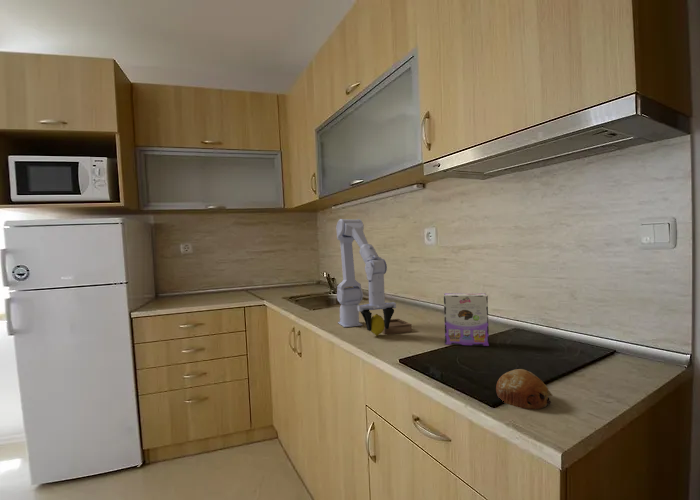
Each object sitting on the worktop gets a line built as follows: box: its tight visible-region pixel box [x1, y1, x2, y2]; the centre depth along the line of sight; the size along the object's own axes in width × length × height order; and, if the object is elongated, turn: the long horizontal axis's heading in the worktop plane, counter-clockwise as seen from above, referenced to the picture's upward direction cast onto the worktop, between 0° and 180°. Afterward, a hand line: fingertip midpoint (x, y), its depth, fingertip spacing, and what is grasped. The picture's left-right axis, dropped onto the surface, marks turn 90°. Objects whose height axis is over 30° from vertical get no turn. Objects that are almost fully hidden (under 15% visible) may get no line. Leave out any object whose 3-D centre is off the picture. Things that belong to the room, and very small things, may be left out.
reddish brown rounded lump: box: [495, 368, 553, 410], centre depth 76 cm, size 10×10×8 cm
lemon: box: [370, 313, 384, 337], centre depth 131 cm, size 6×6×8 cm
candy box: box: [443, 292, 490, 347], centre depth 119 cm, size 14×6×16 cm, turn 74°
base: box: [381, 318, 413, 335], centre depth 140 cm, size 11×11×3 cm
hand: (377, 329), depth 132 cm, fingers open, 6 cm apart
